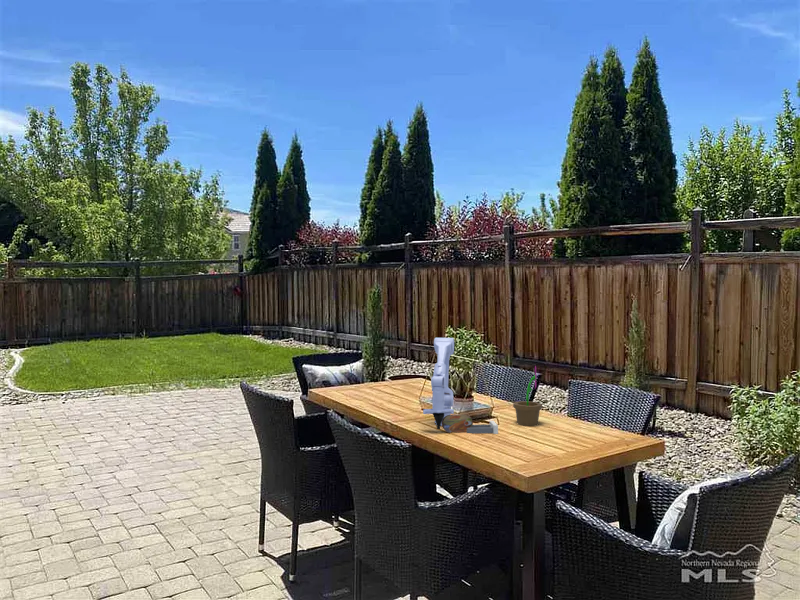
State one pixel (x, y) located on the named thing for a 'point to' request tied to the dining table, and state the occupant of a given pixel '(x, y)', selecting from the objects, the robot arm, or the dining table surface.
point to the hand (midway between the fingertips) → (438, 428)
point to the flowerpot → (528, 409)
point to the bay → (484, 428)
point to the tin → (457, 423)
